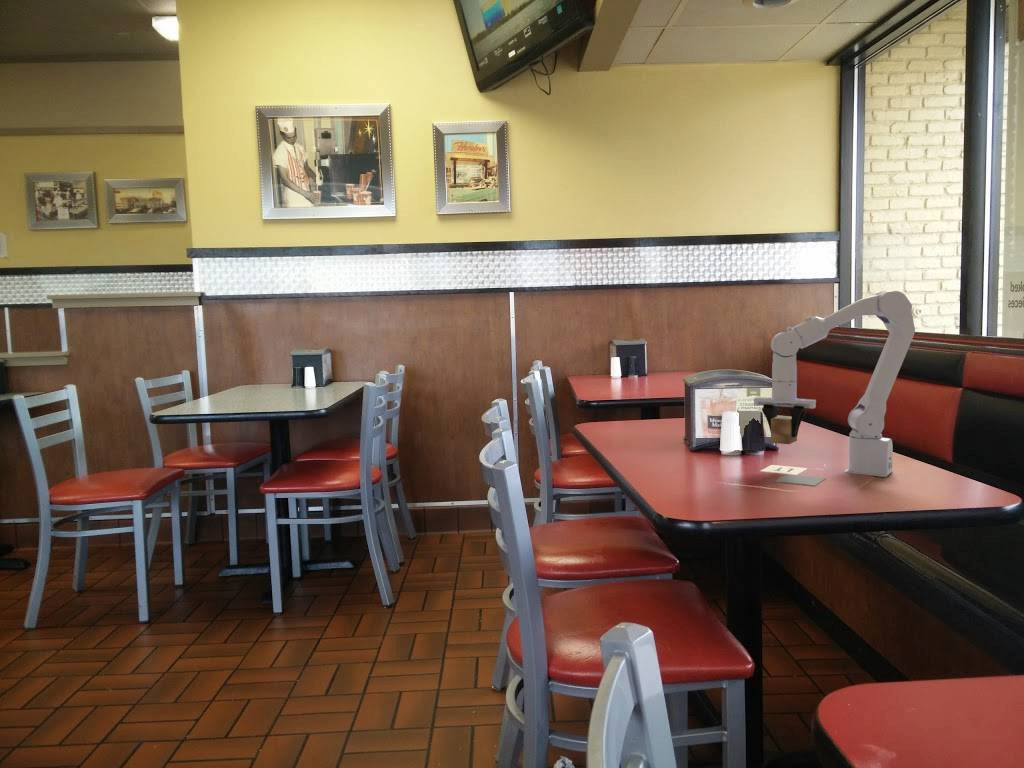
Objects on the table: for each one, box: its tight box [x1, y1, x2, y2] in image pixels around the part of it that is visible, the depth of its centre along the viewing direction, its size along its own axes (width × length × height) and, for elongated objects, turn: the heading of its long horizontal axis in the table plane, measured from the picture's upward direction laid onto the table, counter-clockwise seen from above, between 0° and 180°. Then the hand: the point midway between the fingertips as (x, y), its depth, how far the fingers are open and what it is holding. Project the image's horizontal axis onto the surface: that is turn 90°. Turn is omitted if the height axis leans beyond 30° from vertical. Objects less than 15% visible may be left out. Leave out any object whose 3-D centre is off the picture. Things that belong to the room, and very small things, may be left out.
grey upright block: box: [736, 408, 762, 437], centre depth 218 cm, size 6×4×12 cm
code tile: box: [760, 464, 808, 475], centre depth 191 cm, size 9×9×1 cm
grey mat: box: [774, 474, 827, 487], centre depth 179 cm, size 9×9×1 cm
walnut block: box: [770, 415, 798, 445], centre depth 190 cm, size 4×6×6 cm
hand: (784, 435), depth 190 cm, fingers closed on walnut block, 4 cm apart
